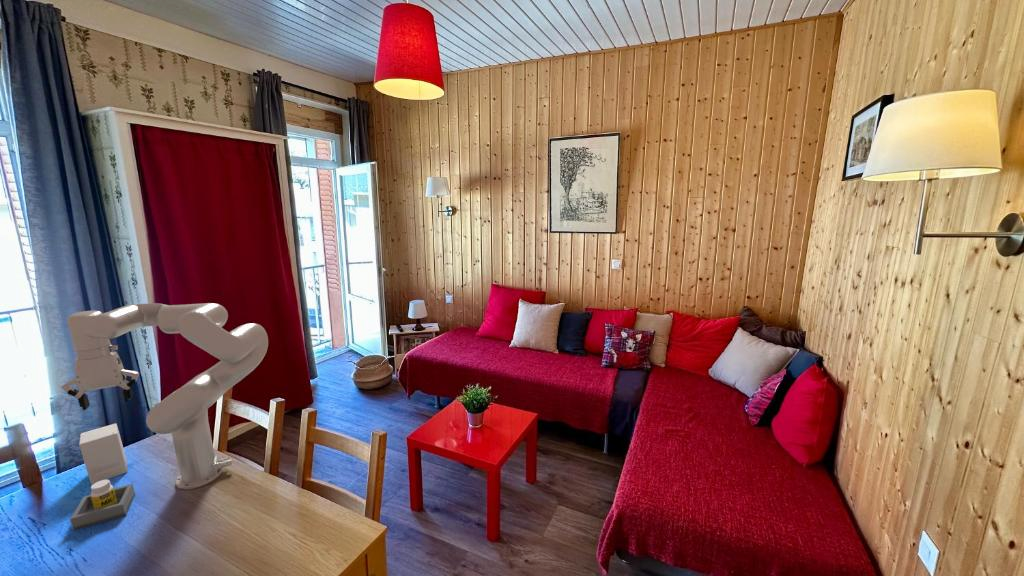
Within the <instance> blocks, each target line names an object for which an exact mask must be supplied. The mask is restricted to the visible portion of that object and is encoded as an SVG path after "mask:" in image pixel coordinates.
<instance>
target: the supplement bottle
mask: <svg viewBox="0 0 1024 576" xmlns="http://www.w3.org/2000/svg"><path fill="white" fill-rule="evenodd" d="M114 488H115V487H114V486H113V484H111V481H110V479H106V480H101V481H98V482H96V483H95V484H92V485H91V486H90V491H91V493H90V495H91V498H92V502H93V506H94V509H95V510H97V509H101V508H104V507H108V506H112V505H115V504H117V500H116V496H115V492H114Z"/></svg>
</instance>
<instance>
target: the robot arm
mask: <svg viewBox="0 0 1024 576" xmlns="http://www.w3.org/2000/svg"><path fill="white" fill-rule="evenodd" d="M228 318H229V313H228V310H227V309H226V308H225V307H224V306H223V305H221V304H219V303H212V302H207V303H191V304H190V303H187V304H171V305H169V304H163V303H158V302H154V303H153V302H152V303H150V302H149V303H147V302H146V303H133V304H128V305H124V306H121V307H117V308H115V309H113V310H110V311H107V312H101V311H100V310H85V311H79V312H74V313H72V314H70V315H69V316H67V318H66V320H67V325H68V329H69V332H70V336H71V341H72V344H73V347H74V351H75V355H76V358H75V360H74V376H75V378H72V379H71V380H69V381H67V382H65V383H64V384H62V385H61V387H60V388H61V389H62V390H63V391H65V393H67V395H69V396H71V397H75V399H77V401H78V404H79V407H80V408H81V409H82V411H86V410H88V408H89V407H90V405H91V404H90V400H89V397H88V394H87V393H86V392H88V391H95V390H102V389H106V388H107V389H108V388H111V387H112V388H113V387H120V388H122V393H123V398H124V401H125V403H129V402H130V400H131V399H132V398H133V391H132V386H134V384H135V383H136V382H137V381H138V377H139V375H140V372H139V371H135V370H128V369H125V368H124V365H123V362H122V360H121V358H120V356H119V354H118V352H117V351H116V350H119V348H118V347H119V345H118V344H117V345H114V344H112V343H111V340H110V339H115V338H118V337H120V336H122V335H124V334H127V333H130V332H131V331H134V330H136V329H139V328H145V327H158V328H159V329H160V331H162V332H163V333H165V334H170V335H171V334H172V335H173V334H180V335H181V336H182V337H183V338H185V340H187V341H189V342H190V343H192V344H193V345H195V346H196V347H198V348H200V349H201V350H203V351H205V352H207V353H208V354H209V355H211V356H212V357H214V358H217V359H218V360H220V361H218V362H217V363H216V364H214V365H213V366H211V367H210V368H208V369H206V370H205V371H203V372H201V373H199V374H197V375H195V376H194V377H193V378H192V379H191V380H189V381H187V382H186V383H185V384H184V385H182V386H181V387H180V388H178V389H176V390H175V391H173V392H172V393H170V394H169V395H167V396H166V397H165V398H163V400H161V401H160V402H158V403H157V404H156V405H154V406H153V407H151V409H150V410H149V411H148V413H147V415H146V420H145V422H146V426H147V427H148V429H149V430H150V431H151V432H153V433H155V434H159V435H167V434H168V435H169V434H171V437H172V442H173V443H172V444H173V447H174V452H175V456H176V460H177V465H178V469H179V475H177V477H176V478H175V486H176V487H177V488H178V489H180V490H193V489H197V488H199V487H200V488H201V487H203V486H206V485H208V484H210V483H212V482H213V481H215V480H216V479H218V478H219V477H220V476H221V474H222V473H223V471H224V468H225V467H226V468H227V467H231V466H233V459H229V458H230V457H229V456H228V457H224V458H219V456H218V454H217V455H216V454H215V450H214V445H213V440H212V434H211V429H210V423H209V416H208V415H209V414H208V411H209V410H208V409H209V408H210V407H212V406H213V405H214V404H215V403H216V402H218V400H219V399H220V398H221V397H223V396H224V395H225V393H227V391H229V390H230V389H231V388H232V387H234V386H236V384H238V383H239V382H241V381H242V380H243V379H244V378H246V376H248V375H249V374H251V373H252V372H253V371H254V370H255V369H256V368H257V367H258V366H259V365H260V363H261V362H262V361H263V359H264V357H265V356H266V354H267V351H268V347H269V337H268V333H267V331H266V329H265V328H264V327H263V326H262V325H261V324H258V323H255V322H253V323H250V322H249V323H245V324H242V325H240V326H237V327H236V328H234V329H232V330H230V331H227V330H226V329H224V328H223V327H224V326H225V324H226V323H227V321H228ZM127 377H131V379H130V380H129V381H128V380H127ZM75 384H76V387H77V389H76V388H73V387H72V386H73V385H75Z"/></svg>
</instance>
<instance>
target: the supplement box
mask: <svg viewBox="0 0 1024 576" xmlns="http://www.w3.org/2000/svg"><path fill="white" fill-rule="evenodd" d="M121 438H122V437H121V435H120V431H119V428H118V425H117V423H116V422H115V423H112V424H109V425H106V426H102V427H97V428H95V429H92V430H88V431H85V432H81V433H80V437H79V443H78V446H79V449H80V452H81V456H82V459H83V462H84V465H85V469H86V472H87V475H88V478H89V479H88V480H89V483H90V485H91V486H92V485H93V484H95V483H96V482H98V481H101V480H110V479H111V478H114V477H115V478H116V477H117V476H120V475H123V474H126V473H128V461H127V460H128V459H127V456H126V452H125V449H124V446H123V442H122V439H121Z"/></svg>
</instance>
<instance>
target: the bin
mask: <svg viewBox="0 0 1024 576" xmlns="http://www.w3.org/2000/svg"><path fill="white" fill-rule="evenodd" d="M113 488H114V492H115V496H116V500H117V504H115V505H112V506H108V507H104V508H101V509H97V510H95V509H94V506H93V502H92V498H91V494H88V495H84V496H82V499H81V501H80V502H79V504H78V505H77V506H76V509H75V510H74V512H73V514H72V515H71V517H69V518H70V519H69V520H70V523H71V527H72V528H73V532H75V531H76V532H77V531H79V530H82V529H86V528H89V527H92V526H97V525H99V524H103V523H106V522H109V521H114V520H117V519H120V518H124V517H126V516H127V514H128V512H129V510H130V507H131V505H132V503H133V501H134V498H135V497H136V492H135V488H134V485H133V483H129V484H125V485H121V486H117V487H113Z"/></svg>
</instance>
